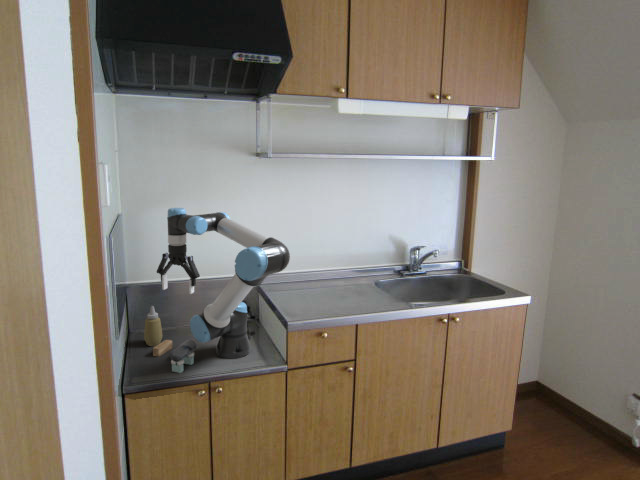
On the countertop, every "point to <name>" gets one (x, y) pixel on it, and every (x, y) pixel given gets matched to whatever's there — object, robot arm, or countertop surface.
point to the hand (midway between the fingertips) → (178, 291)
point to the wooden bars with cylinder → (162, 348)
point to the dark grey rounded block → (183, 350)
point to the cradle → (179, 365)
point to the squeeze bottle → (152, 328)
